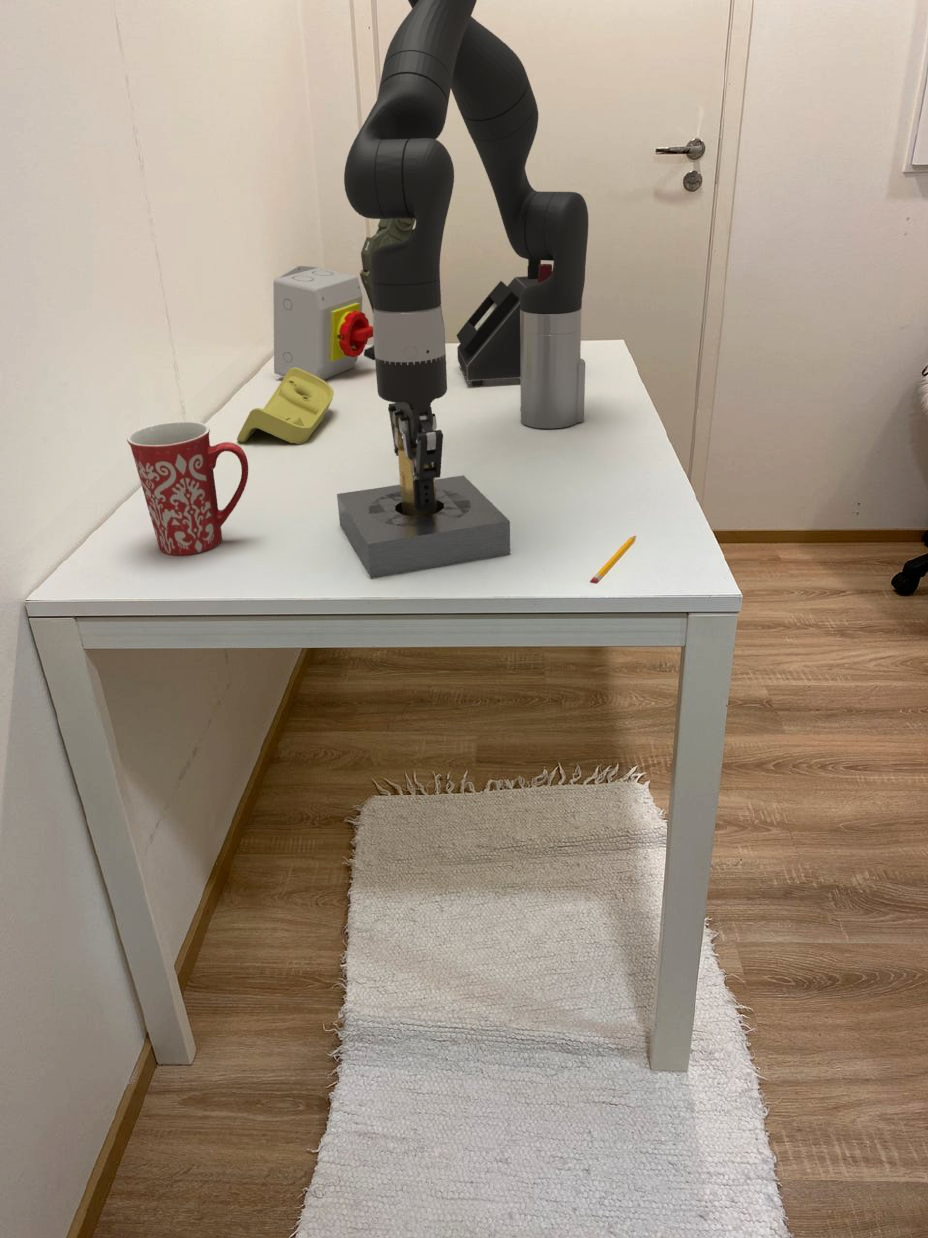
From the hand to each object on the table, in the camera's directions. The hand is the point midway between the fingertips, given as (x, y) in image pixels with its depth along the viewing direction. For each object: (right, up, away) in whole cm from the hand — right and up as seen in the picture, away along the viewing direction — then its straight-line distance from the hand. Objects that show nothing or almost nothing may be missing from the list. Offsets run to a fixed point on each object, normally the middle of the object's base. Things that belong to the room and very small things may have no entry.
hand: (419, 502), depth 107 cm
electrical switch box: (-20, +34, +73) cm, 83 cm away
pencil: (+22, -7, -4) cm, 23 cm away
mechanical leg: (-9, +42, +88) cm, 98 cm away
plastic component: (-22, +17, +44) cm, 52 cm away
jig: (0, -4, +2) cm, 5 cm away
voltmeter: (+13, +32, +69) cm, 77 cm away
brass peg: (0, -2, +1) cm, 2 cm away
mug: (-25, -5, +3) cm, 26 cm away
